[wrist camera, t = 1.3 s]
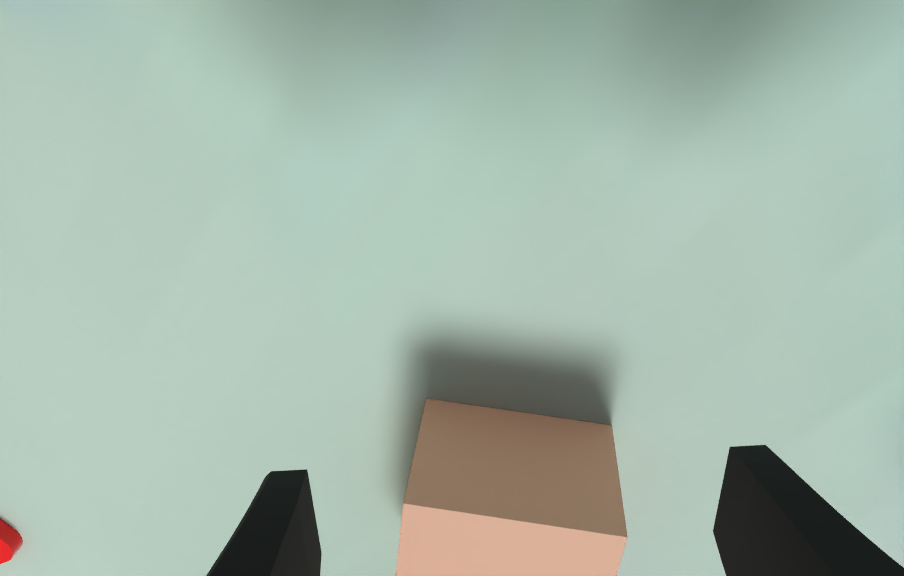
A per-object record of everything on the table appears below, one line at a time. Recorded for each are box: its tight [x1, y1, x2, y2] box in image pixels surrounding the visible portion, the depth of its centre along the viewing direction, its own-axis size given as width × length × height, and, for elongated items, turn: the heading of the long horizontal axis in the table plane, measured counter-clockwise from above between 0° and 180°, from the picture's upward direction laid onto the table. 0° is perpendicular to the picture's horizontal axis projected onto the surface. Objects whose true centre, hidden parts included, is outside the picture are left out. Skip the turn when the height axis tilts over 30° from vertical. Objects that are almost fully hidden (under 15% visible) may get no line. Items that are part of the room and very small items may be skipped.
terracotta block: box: [396, 399, 627, 576], centre depth 24 cm, size 6×6×5 cm
